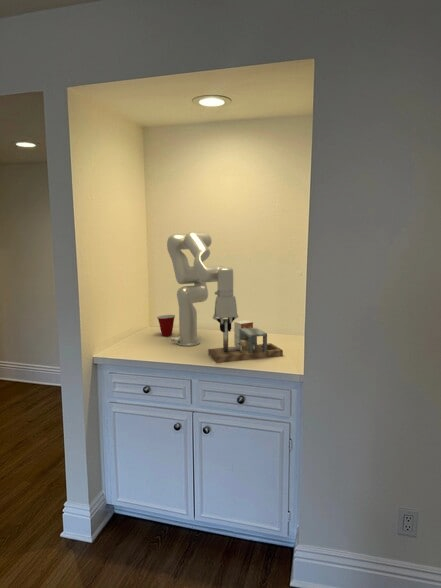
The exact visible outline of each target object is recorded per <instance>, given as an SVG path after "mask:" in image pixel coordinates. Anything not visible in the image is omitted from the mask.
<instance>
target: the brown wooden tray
mask: <svg viewBox="0 0 441 588" xmlns="http://www.w3.org/2000/svg"><path fill="white" fill-rule="evenodd" d="M258 337H262V343H260V344H258ZM246 339H248V351H243V350H242V352H240V351H239V350H235V351H227V352H224V351H223V347H218V348H208V349H207V352H208V353H207V354H208V356H209V358H211V359H212V360H213V361H214V362H215V363H216V364H222V363H230V362H238V361H239V362H240V361H250V360H261V359H269V358H276V357H277V358H278V357H279V358H280V357H283V356H284V350H283V349H282V348H279V347H278V346H276V345H275V344H273V343H272V342H271V343H268V333H267V332H265V331H264V330H261V329H259V328H258V327H253V328H244V329H239V343H240V340H246ZM253 345H255V350H252V347H253ZM232 347H233V346H228V348H232Z"/></svg>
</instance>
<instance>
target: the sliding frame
mask: <svg viewBox="0 0 441 588" xmlns="http://www.w3.org/2000/svg"><path fill="white" fill-rule="evenodd" d="M223 324H224V332H222V344H223V345H222V348H223V351H224V352H227V351H235V350H239V351H240V352H242V346H241V345H240V343H236V346H231V347H232V348H228V347H229V331H228V318H223ZM252 350H255V345H253V347H252Z"/></svg>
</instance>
